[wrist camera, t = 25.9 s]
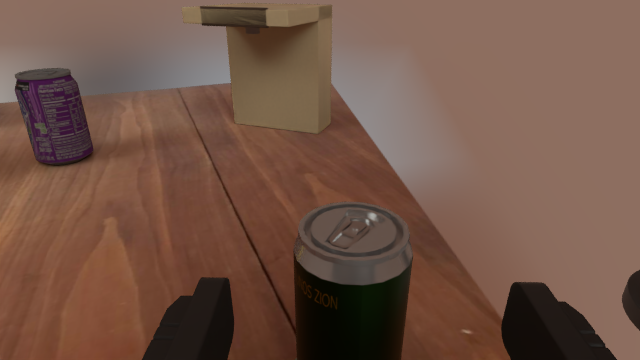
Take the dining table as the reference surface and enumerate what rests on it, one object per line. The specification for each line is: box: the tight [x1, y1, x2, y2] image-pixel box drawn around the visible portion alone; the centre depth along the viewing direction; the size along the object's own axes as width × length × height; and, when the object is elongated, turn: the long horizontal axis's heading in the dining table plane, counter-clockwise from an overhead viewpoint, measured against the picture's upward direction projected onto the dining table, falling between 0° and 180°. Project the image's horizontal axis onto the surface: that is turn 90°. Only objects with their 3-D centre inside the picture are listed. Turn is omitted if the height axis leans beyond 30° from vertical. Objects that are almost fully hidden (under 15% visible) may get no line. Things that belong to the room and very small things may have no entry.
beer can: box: [293, 202, 413, 360], centre depth 21 cm, size 5×5×12 cm
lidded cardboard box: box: [182, 3, 332, 134], centre depth 67 cm, size 20×16×20 cm
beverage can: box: [15, 68, 93, 165], centre depth 57 cm, size 7×7×12 cm
